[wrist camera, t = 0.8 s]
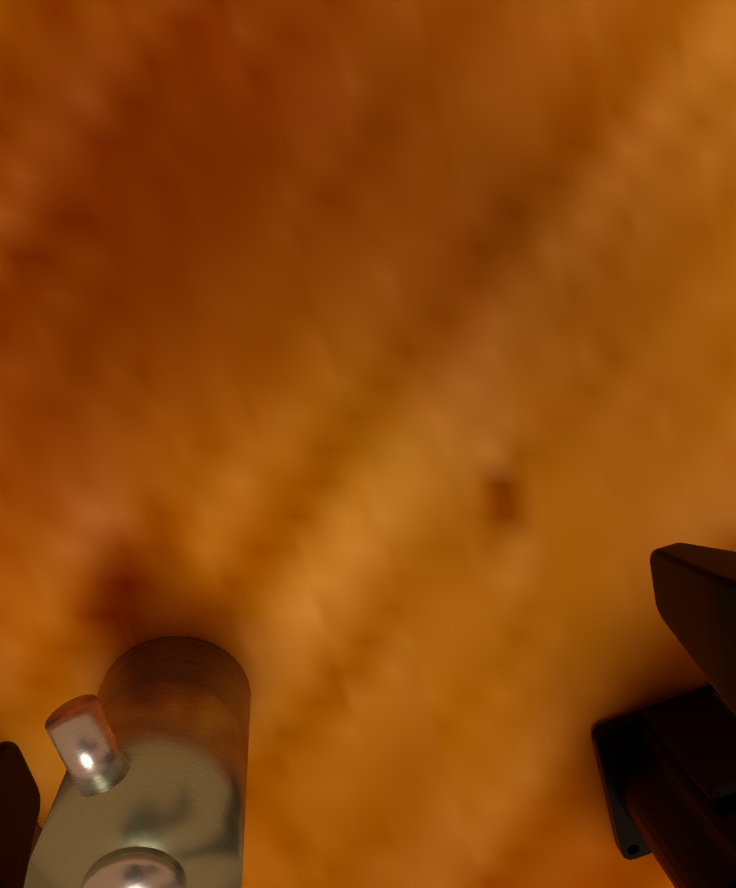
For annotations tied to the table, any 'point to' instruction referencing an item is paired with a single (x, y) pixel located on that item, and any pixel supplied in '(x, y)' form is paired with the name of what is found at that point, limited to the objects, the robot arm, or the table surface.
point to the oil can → (151, 774)
